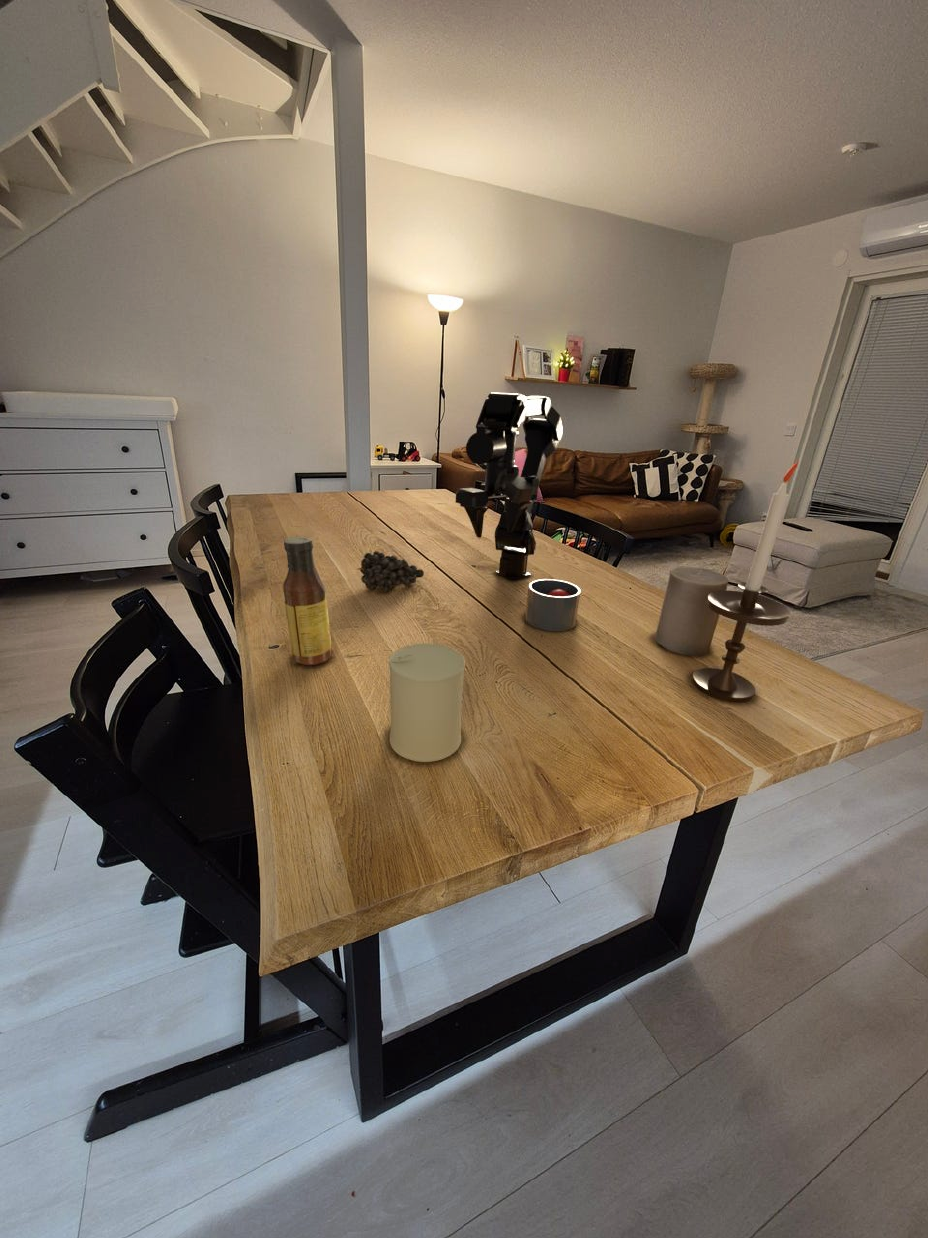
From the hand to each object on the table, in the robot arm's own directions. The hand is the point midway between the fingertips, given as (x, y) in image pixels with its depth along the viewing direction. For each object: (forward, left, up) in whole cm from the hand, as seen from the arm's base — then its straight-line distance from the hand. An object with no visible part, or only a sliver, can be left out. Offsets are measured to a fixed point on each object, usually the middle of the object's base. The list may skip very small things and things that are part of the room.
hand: (494, 534), depth 109 cm
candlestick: (-3, +52, -13) cm, 54 cm away
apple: (+1, +19, -12) cm, 22 cm away
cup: (+1, +19, -13) cm, 23 cm away
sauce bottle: (+46, +7, -13) cm, 48 cm away
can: (+43, +35, -13) cm, 57 cm away
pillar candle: (-12, +40, -13) cm, 44 cm away
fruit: (+18, -13, -13) cm, 26 cm away
